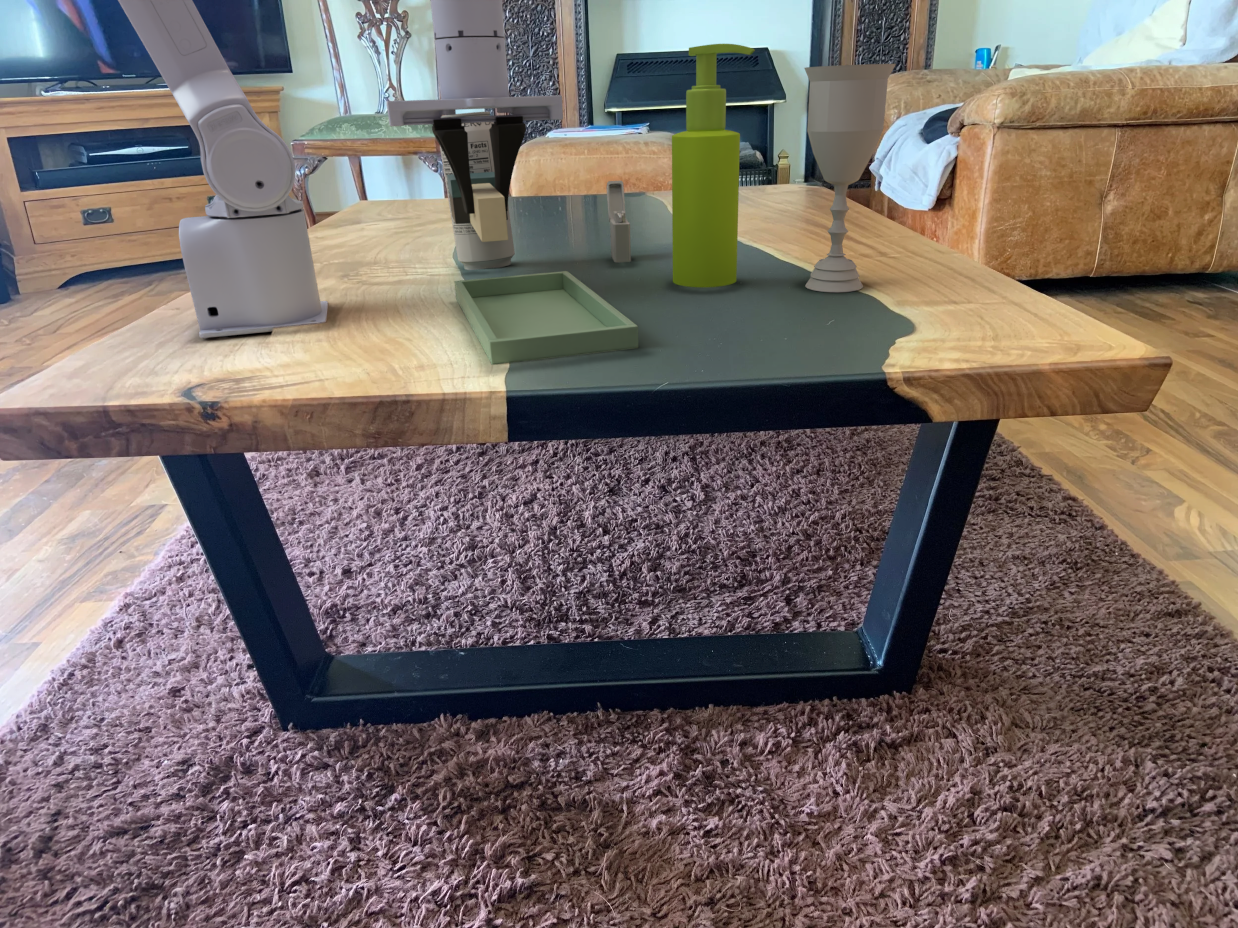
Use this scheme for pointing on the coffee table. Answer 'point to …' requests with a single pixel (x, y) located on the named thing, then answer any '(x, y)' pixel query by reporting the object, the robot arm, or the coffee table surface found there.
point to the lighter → (618, 222)
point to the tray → (541, 317)
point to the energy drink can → (466, 237)
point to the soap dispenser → (706, 180)
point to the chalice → (843, 150)
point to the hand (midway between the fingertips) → (485, 211)
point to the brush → (481, 207)
